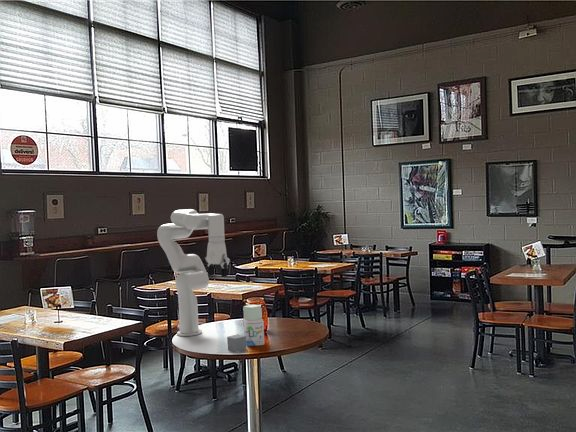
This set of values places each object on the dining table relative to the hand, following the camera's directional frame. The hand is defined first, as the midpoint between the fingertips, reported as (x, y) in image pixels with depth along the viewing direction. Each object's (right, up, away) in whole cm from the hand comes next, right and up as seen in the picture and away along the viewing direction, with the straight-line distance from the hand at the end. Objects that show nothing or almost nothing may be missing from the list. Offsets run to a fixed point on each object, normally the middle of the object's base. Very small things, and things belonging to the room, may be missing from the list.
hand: (217, 275), depth 273 cm
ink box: (+18, -31, -5) cm, 36 cm away
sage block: (+17, -20, -5) cm, 26 cm away
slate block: (+10, -32, -15) cm, 37 cm away
